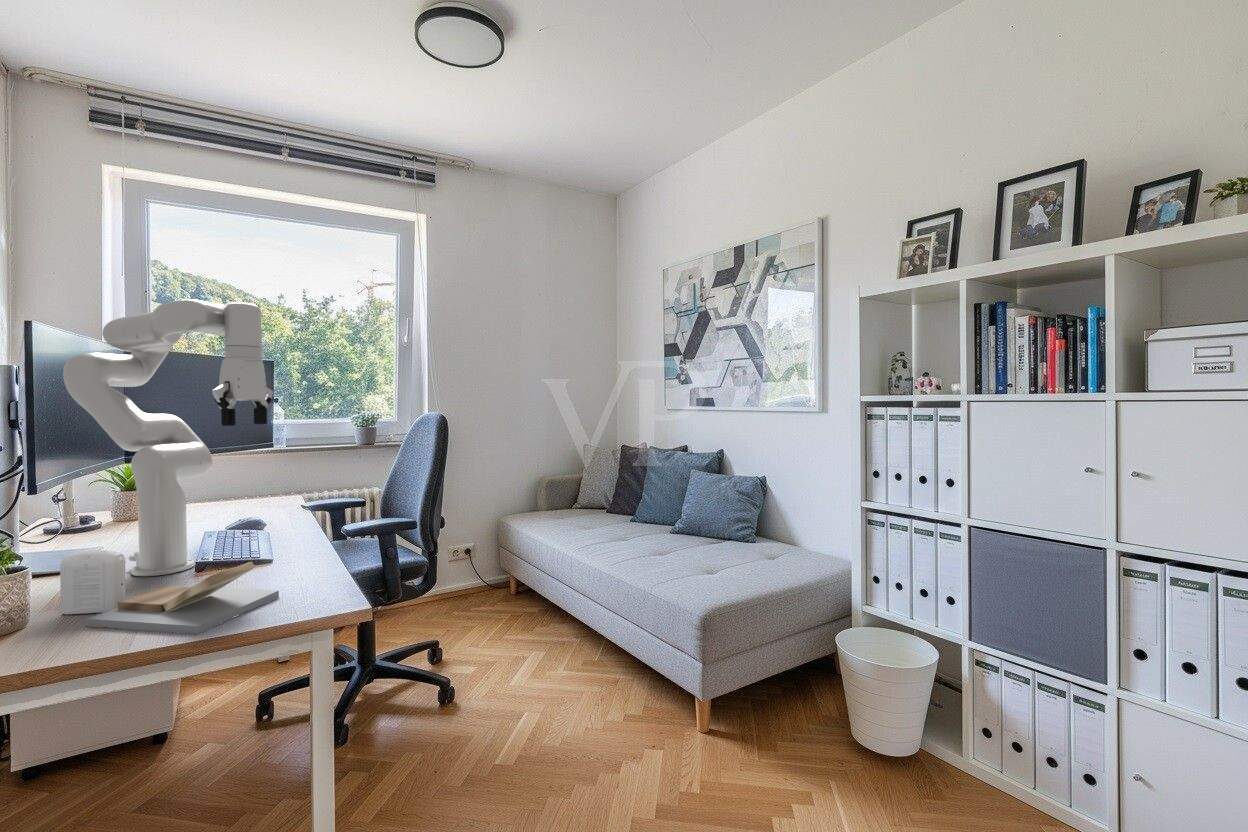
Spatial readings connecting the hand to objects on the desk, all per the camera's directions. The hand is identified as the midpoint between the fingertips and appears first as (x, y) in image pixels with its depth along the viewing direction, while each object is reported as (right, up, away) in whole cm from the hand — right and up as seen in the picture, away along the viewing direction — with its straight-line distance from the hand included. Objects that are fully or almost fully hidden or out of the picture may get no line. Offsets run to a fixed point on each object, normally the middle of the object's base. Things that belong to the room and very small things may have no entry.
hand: (245, 424), depth 141 cm
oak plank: (+10, -33, -25) cm, 42 cm away
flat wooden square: (-2, -36, -23) cm, 43 cm away
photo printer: (-15, -38, -24) cm, 47 cm away
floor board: (+4, -37, -24) cm, 45 cm away
